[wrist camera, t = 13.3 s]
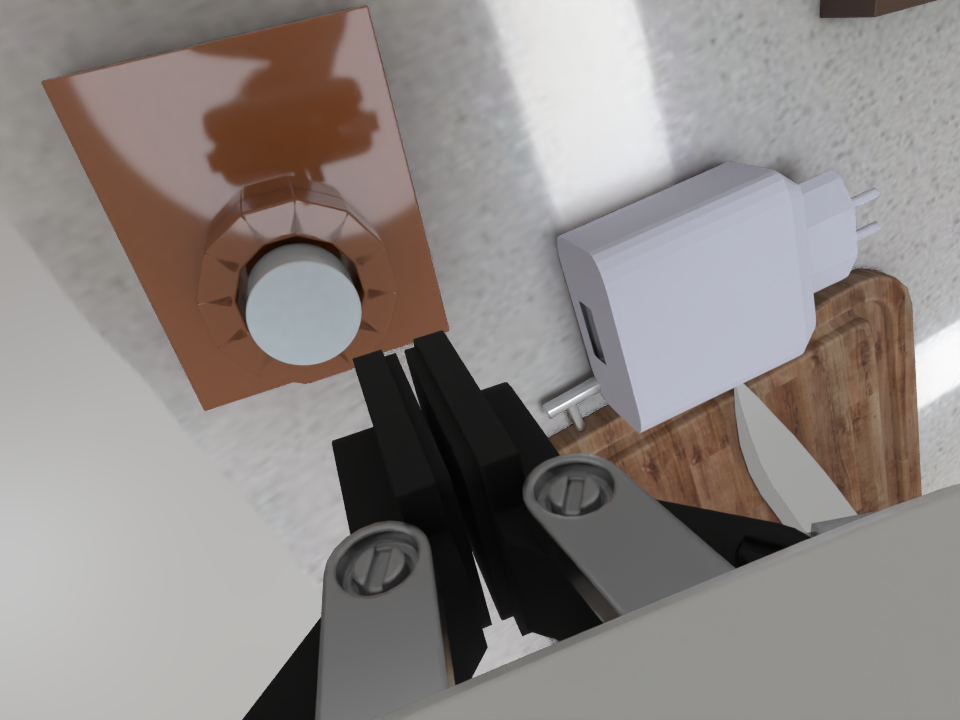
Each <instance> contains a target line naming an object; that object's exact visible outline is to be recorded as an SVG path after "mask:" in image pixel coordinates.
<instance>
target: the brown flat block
mask: <svg viewBox="0 0 960 720" xmlns="http://www.w3.org/2000/svg"><path fill="white" fill-rule="evenodd" d="M932 1H936V0H821V16H820V17H821V18H857V17H877V16H881V15H884V14H888V13H892V12H895V11H899V10H903V9H906V8H910V7H914V6H917V5H921V4H925V3H928V2H932Z"/></svg>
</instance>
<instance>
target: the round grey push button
mask: <svg viewBox="0 0 960 720" xmlns="http://www.w3.org/2000/svg"><path fill="white" fill-rule="evenodd" d="M361 316H362V309H361V302H360V298H359V295H358V293H357V290H356V288H355V286H354V283H353V281H352V279H351V276H350V274H349V272H348V270H347V268H346V267H345V265H344V264H343V263H342V262H341V261H340V260H339V259H338V258H337V257H336V256H335V255H334V254H332V253H331V252H329V251H327V250H326V249H324V248H321V247H319V246H315V245H312V244H305V243H295V244H288V245H283V246H280V247H278V248H275V249H273V250H271V251H270V252H268V253H267V254H265V255H264V256H263V257H262V258H261V259H259V260H258V262H257V263H256V264H255V265H254V267H253V268H252V270H251V272H250V274H249V277H248V280H247V283H246V322H247V326H248V329H249V332H250V334H251V336H252V338H253V340H254V341H255V342H256V344H257V345H258V346H259V347H260V348H261V349H262V350H263V351H264V352H265V353H267V354H268V355H270V356H271V357H273V358H275V359H277V360H279V361H282V362H285V363H288V364H293V365H313V364H318V363H322V362H325V361H327V360H330V359H332V358H334V357H335V356H337V355H338V354H340V353H341V352H342V351H344V350H345V349H346V348H347V347H348V346H349V344H350V343H351V342H352V341H353V339H354V338H355V336H356V334H357V332H358V329H359V326H360V323H361Z"/></svg>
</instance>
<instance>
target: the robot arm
mask: <svg viewBox="0 0 960 720" xmlns="http://www.w3.org/2000/svg"><path fill="white" fill-rule="evenodd" d="M413 342H414V347H413V348H410V349H407V350H405V355H406V359H407V363H408V366H409V370H410V373H411V376H412V380H413V383H414V387H415V390H416V394H417V397H418V401H419V404H420V407H419V404H418V402H417V400H416V398H415V395H414V393H413V391H412V389H411V386H410V384H409V382H408V380H407V378H406V375H405V373H404V371H403V369H402V366H401V364H400V362H399V360H398V357H397V355H396V353H394V354H391V355H388V356H384V354H383V352H382V349H381V350H378V351H375V352H371V353H368V354H365V355H362V356H359V357H356V358H353V359H352V360H353V363H354V366H355V369H356V372H357V376H358V379H359V382H360V385H361V388H362V391H363V395H364V398H365V401H366V404H367V407H368V411H369V414H370V417H371V420H372V423H373V427H372V428H369V429H366V430H363V431H360V432H357V433H354V434H351V435H348V436H345V437H342V438H339V439H336V440H333V441H332V446H333V451H334V456H335V461H336V466H337V471H338V476H339V481H340V486H341V491H342V495H343V500H344V505H345V510H346V515H347V520H348V525H349V530H350V535H349V536H348V537H346V538H345V539H344V540H343V541H342V542H341V543H340V544H339V545H338V546H337V547H336V548H335V549H334V551H333V552H332V554H331V556H330V557H329V559H328V560H327V563H326V567H325V571H324V578H323V595H322V612H321V618H320V619H319V620H318V622H317V623H316V624H315V626H314V627H313V628H312V630H311V631H310V632H309V634H308V635H307V636H306V637H305V639H304V640H303V641H302V643H301V644H300V645H299V646H298V648H297V649H296V650H295V652H294V653H293V654H292V656H291V657H290V658H289V660H288V661H287V662H286V664H285V665H284V666H283V667H282V669H281V670H280V671H279V673H278V674H277V675H276V677H275V678H274V679H273V680H272V682H271V683H270V684H269V686H268V687H267V688H266V689H265V691H264V692H263V693H262V695H261V696H260V697H259V699H258V700H257V701H256V703H255V704H254V705H253V706H252V708H251V709H250V711H249V712H248V713H247V714H246V716H245V717H244V718H243V720H960V484H957V485H953V486H949V487H946V488H943V489H940V490H937V491H934V492H931V493H929V494H926V495H923V496H920V497H918V498H915V499H912V500H909V501H906V502H903V503H900V504H897V505H894V506H891V507H889V508H886V509H884V510H881V511H876V512H870V513H865V514H860V515H854V516H849V517H843V518H838V519H833V520H827V521H822V522H816V523H811V532H809V533H803V532H801V531H799V530H798V529H796V528H793V527H790V526H786V525H783V524H780V523H776V522H771V521H766V520H760V519H755V518H750V517H745V516H740V515H734V514H729V513H724V512H719V511H714V510H708V509H703V508H698V507H693V506H688V505H683V504H677V503H672V502H667V501H662V500H657V499H654V498H653V497H652V496H651V495H650V494H649V493H648V492H646V491H645V490H644V489H643V488H642V487H641V486H639V485H638V484H637V483H636V482H635V481H634V480H632V479H631V478H630V477H629V476H628V475H627V474H625V473H624V472H623V471H622V470H621V469H620V468H618V467H617V466H616V465H615V464H613V463H611V462H610V461H608V460H607V459H605V458H602V457H599V456H595V455H592V454H580V453H574V454H566V455H560V454H559V453H558V451H557V450H556V449H555V447H554V446H553V444H552V443H551V442H550V440H549V439H548V437H547V436H546V435H545V433H544V432H543V430H542V429H541V428H540V426H539V425H538V423H537V422H536V421H535V419H534V418H533V416H532V415H531V414H530V412H529V411H528V409H527V408H526V407H525V405H524V404H523V403H522V401H521V400H520V398H519V397H518V396H517V394H516V393H515V391H514V390H513V389H512V387H511V386H510V385H509V384H508V383H507V382H504V383H501V384H498V385H495V386H492V387H489V388H486V389H484V390H480V389H479V387H478V385H477V384H476V382H475V381H474V379H473V377H472V376H471V374H470V373H469V371H468V370H467V368H466V366H465V365H464V363H463V362H462V360H461V358H460V357H459V355H458V354H457V352H456V350H455V349H454V347H453V346H452V344H451V342H450V341H449V339H448V338H447V336H446V335H445V333H444V331H443V330H440V331H437V332H434V333H431V334H428V335H425V336H422V337H418V338H415V339H413ZM420 408H421V409H420ZM472 552H473V554H474V557H475V559H476V562H477V564H478V566H479V569H480V571H481V573H482V576H483V578H484V580H485V583H486V585H487V587H488V590H489V592H490V595H491V597H492V599H493V602H494V604H495V606H496V609H497V611H498V613H499V616H500V618H501V620H505V619H507V618H510V617H512V616H514V618H515V621H516V623H517V625H518V627H519V630H520V632H521V634H522V636H524V635H526V634H529V633H531V632H533V633H537V634H540V635H543V636H546V637H549V638H552V640H553V645H551V646H548V647H546V648H543V649H541V650H539V651H536V652H534V653H532V654H529V655H527V656H524V657H522V658H520V659H517V660H515V661H512V662H510V663H508V664H505V665H503V666H501V667H498V668H496V669H493V670H491V671H489V672H486V673H484V674H481V675H479V676H477V677H474V678H472V676H473V674H474V672H475V671H476V669H477V667H478V665H479V663H480V661H481V659H482V657H483V655H484V653H485V651H486V649H487V648H488V647H487V643H486V640H485V637H484V633H483V630H482V629H483V628H485V627H488V626H490V625H492V623H491V619H490V615H489V612H488V608H487V604H486V601H485V597H484V593H483V590H482V586H481V583H480V579H479V575H478V572H477V568H476V565H475V561H474V557H473V554H472Z"/></svg>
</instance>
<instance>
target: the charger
mask: <svg viewBox="0 0 960 720" xmlns="http://www.w3.org/2000/svg"><path fill="white" fill-rule="evenodd" d="M878 195H879V191H878V189H876V188H872V189H870V190H868V191H865V192H863V193H861V194H859V195H857V196H855V197H852V198H851V197H850V195H849V192H848V190H847V188H846V186H845V183H844V181H843V179H842V177H841V176H840V174H839V173H838V172H837V171H836V170H835V169H832V170H829V171H827V172H825V173H823V174H820V175H818V176H816V177H814V178H812V179H809V180H807V181H805V182H803V183H800V184H796V183H795V182H793V181H791V180H790V179H788V178H787V177H785V176H783V175H782V174H780V173H779V172H777V171H775V170H772V169H767V168H762V167H757V166H752V165H746V164H741V163H736V162H731V161H729V162H726V163H724V164H721V165H719V166H717V167H715V168H712V169H710V170H708V171H706V172H703V173H701V174H699V175H696V176H694V177H692V178H690V179H687V180H685V181H683V182H681V183H678V184H676V185H674V186H671V187H669V188H667V189H665V190H662V191H660V192H658V193H655V194H653V195H651V196H649V197H646V198H644V199H642V200H640V201H637V202H635V203H633V204H630V205H628V206H626V207H624V208H621V209H619V210H617V211H614V212H612V213H610V214H608V215H605V216H603V217H601V218H599V219H596V220H594V221H592V222H589V223H587V224H585V225H583V226H580V227H578V228H576V229H574V230H571V231H569V232H567V233H564V234H562V235H560V236H558V237H557V249H558V254H559V258H560V262H561V266H562V269H563V272H564V276H565V279H566V283H567V286H568V289H569V293H570V296H571V300H572V303H573V306H574V310H575V313H576V316H577V320H578V323H579V327H580V330H581V333H582V337H583V340H584V344H585V347H586V350H587V354H588V357H589V360H590V364H591V367H592V370H593V374H594V376H595V377H596V379H597V380H598V382H599V384H600V387H601V391H600V392H601V394H602V396H603V397H604V399H605V401H606V402H607V403H608V404H609V405H610V406H611V407H612V408H613V409H614V410H615V411H616V412H617V413H618V414H619V415H620V416H621V417H622V418H623V419H624V420H625V421H626V422H627V423H628V424H629V425H630V426H631V427H632V428H633V429H634V430H635V431H636V432H638V433H641V432H643V431H646V430H648V429H650V428H652V427H654V426H656V425H658V424H660V423H662V422H664V421H666V420H668V419H670V418H672V417H674V416H677V415H679V414H681V413H683V412H685V411H687V410H689V409H691V408H693V407H695V406H697V405H699V404H701V403H703V402H705V401H708V400H710V399H712V398H714V397H716V396H718V395H720V394H722V393H724V392H726V391H728V390H730V389H732V388H734V387H736V386H738V385H741V384H743V383H745V382H747V381H749V380H751V379H753V378H755V377H757V376H759V375H761V374H763V373H765V372H767V371H769V370H772V369H774V368H776V367H778V366H780V365H782V364H784V363H786V362H788V361H790V360H792V359H794V358H796V357H798V356H800V355H802V354H803V353H804V351H805V349H806V346H807V344H808V342H809V340H810V338H811V336H812V333H813V331H814V329H815V327H816V313H815V304H814V294H813V293H815V292H817V291H819V290H822V289H824V288H826V287H828V286H830V285H832V284H834V283H836V282H838V281H841V280H843V279H844V278H846V277H847V276H849V274H850V271H851V269H852V267H853V264H854V262H855V260H856V257H857V255H858V249H857V241H859V240H861V239H863V238H865V237H867V236H870V235H872V234H874V233H876V232H878V231H879V230H880V228H881V226H880V224H879V223H878V222H876V221H875V222H873V223H871V224H869V225H867V226H864V227H862V228H860V229H858V230H856V218H855V208H856V207H858V206H861V205H863V204H865V203H867V202H869V201H871V200H874V199H876V198H877V197H878Z"/></svg>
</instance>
